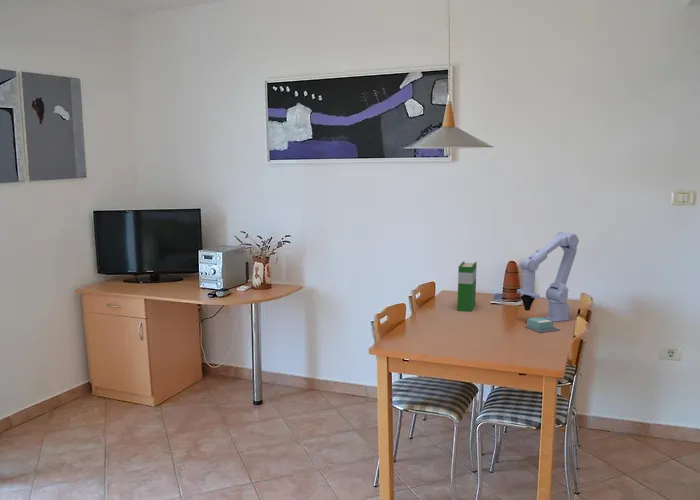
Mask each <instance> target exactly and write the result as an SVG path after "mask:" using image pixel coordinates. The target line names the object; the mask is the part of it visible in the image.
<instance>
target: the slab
mask: <svg viewBox="0 0 700 500" xmlns="http://www.w3.org/2000/svg"><path fill="white" fill-rule="evenodd" d="M526 326H529V327H532V328H535V329H537V330H546V329H553V327H554V321H552V320H549V319H546V318H544V317H542V316H538V317H530V318H527V319H526Z"/></svg>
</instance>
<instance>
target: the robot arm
mask: <svg viewBox="0 0 700 500" xmlns="http://www.w3.org/2000/svg"><path fill="white" fill-rule="evenodd" d="M579 241H580V240H579V237H578V236H577V234H575V233H569V232H563V231H558V232H557V233H556V234H554V235H553V238H552V239H551V240H550V242H548V243H547V244H546V245H545V246H544V247H543V248H538V249H536V250H535V252H534V253H533V254H531V255H530V256H528V257H527V258H524V259H523V260H521V263H520V268H521V272H522V284H521V286H522V288H519V289H516V293H517V294H519V295H520V300H521V301H522V304H523V307H524V311H531V308H532V306H533V302H534V301H535V300H538V299H540V294H538V293H537V292H535V283H536V271H537V270H538V268H539V267H540V264H541V263H543V262H544V261H545V260H546V259H548V255H549V254H550V253H552V252H553V251H554V250H556V249H557V248H558V247H560V248H561V249H562V251H563V255H562V258H561V261H560V265H559V268H558V269H557V270H558V271H557V273H556V276H555V279H554V281H553V282H551V283H550V284H549V286H548V288H547V289H546V291H545V297H546V299H547V301H548V313H547V314H548V316H544V317H543V318H545V319H548V320H551V321H553V322H561V321H563V322H564V321H568V320H569V321H570V318H569V309H570V306H569V304H568V302H567V300H568V298H569V297H568V296H569V288H568V287H567V282H568V279H569V276H570V274H571V270H572V266H573V263H574V260H575V258H576V254H577V251H578V250H577V249H578V245H579Z"/></svg>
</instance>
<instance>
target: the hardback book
mask: <svg viewBox="0 0 700 500" xmlns="http://www.w3.org/2000/svg"><path fill="white" fill-rule="evenodd" d="M457 279H458V280H457V306H456V309H457V312H464V313H465V312H467V313H472V312H473V310H474V309H475V306H476V296H477V295H476V293H477V292H476V290H477V261H474V263H473V262H472V263H471V262H465V261H462V262H461V263H460V264H459V266H458V274H457Z"/></svg>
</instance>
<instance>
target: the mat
mask: <svg viewBox="0 0 700 500" xmlns="http://www.w3.org/2000/svg"><path fill="white" fill-rule="evenodd" d="M524 328H526V329H527V330H531V331H532V332H533V331H534V332H535V333H538V334H543V333H551V332H558V331H559V332H560V331H561V329H560V328H557V327H554V326H553V329H546V330H537V329H535V328H532V327H529V326H527V325H525V326H524Z"/></svg>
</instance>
